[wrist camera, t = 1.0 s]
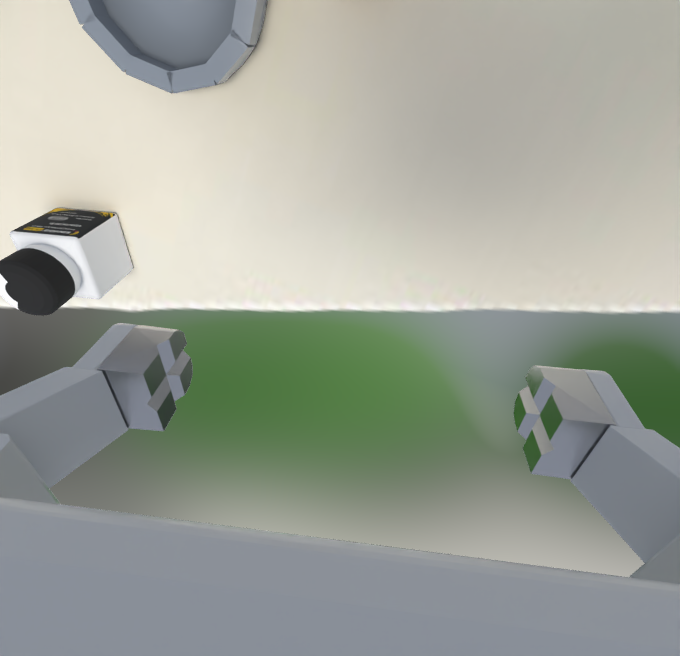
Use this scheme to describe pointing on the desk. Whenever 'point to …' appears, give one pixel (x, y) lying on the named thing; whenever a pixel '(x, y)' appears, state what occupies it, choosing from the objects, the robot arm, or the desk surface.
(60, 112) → the desk surface
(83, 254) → the medicine bottle
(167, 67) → the bowl
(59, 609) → the robot arm
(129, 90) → the desk surface
